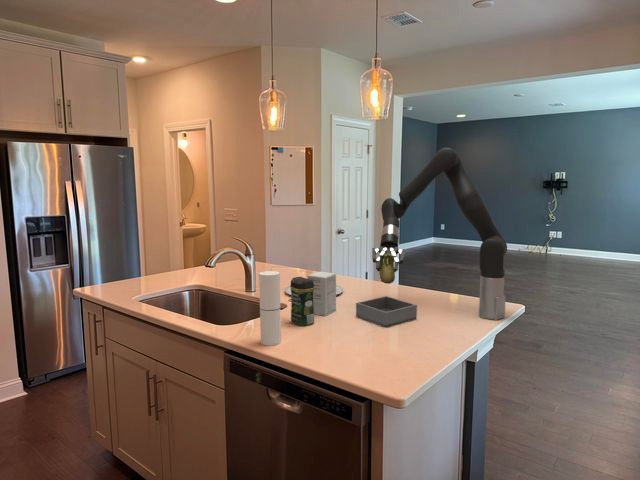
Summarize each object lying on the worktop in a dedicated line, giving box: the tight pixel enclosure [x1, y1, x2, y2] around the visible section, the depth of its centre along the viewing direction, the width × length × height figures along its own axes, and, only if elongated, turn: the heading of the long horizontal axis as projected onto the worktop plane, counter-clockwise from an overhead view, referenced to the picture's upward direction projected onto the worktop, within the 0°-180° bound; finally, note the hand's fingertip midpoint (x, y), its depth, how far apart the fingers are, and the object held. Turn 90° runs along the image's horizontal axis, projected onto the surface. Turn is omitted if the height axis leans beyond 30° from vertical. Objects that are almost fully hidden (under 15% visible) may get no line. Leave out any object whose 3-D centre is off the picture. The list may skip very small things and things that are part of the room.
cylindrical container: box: [258, 270, 282, 347], centre depth 157 cm, size 7×7×25 cm
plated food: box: [284, 284, 344, 296], centre depth 228 cm, size 30×30×3 cm
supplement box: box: [306, 271, 337, 317], centre depth 193 cm, size 10×9×17 cm
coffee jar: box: [289, 276, 315, 326], centre depth 178 cm, size 10×8×19 cm
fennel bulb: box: [378, 254, 396, 285], centre depth 183 cm, size 6×5×12 cm
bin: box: [355, 295, 418, 329], centre depth 184 cm, size 18×18×6 cm
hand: (386, 270), depth 181 cm, fingers closed on fennel bulb, 6 cm apart
